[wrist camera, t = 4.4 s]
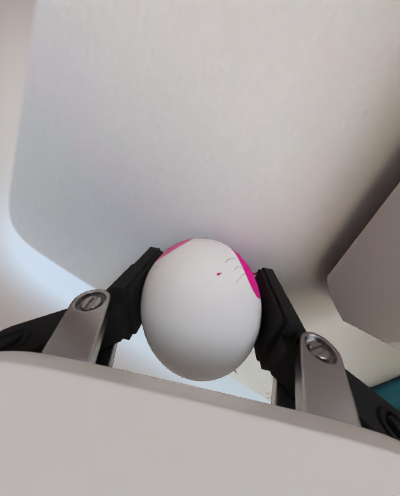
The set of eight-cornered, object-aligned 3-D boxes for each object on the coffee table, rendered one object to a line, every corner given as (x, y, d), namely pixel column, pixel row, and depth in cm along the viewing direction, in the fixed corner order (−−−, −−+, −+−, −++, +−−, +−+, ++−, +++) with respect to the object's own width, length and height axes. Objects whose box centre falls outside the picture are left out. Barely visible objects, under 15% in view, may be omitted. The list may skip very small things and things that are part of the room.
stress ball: (235, 285, 15) (306, 343, 9) (154, 327, 12) (185, 446, 6) (228, 206, 11) (332, 222, 6) (114, 240, 9) (108, 329, 3)
